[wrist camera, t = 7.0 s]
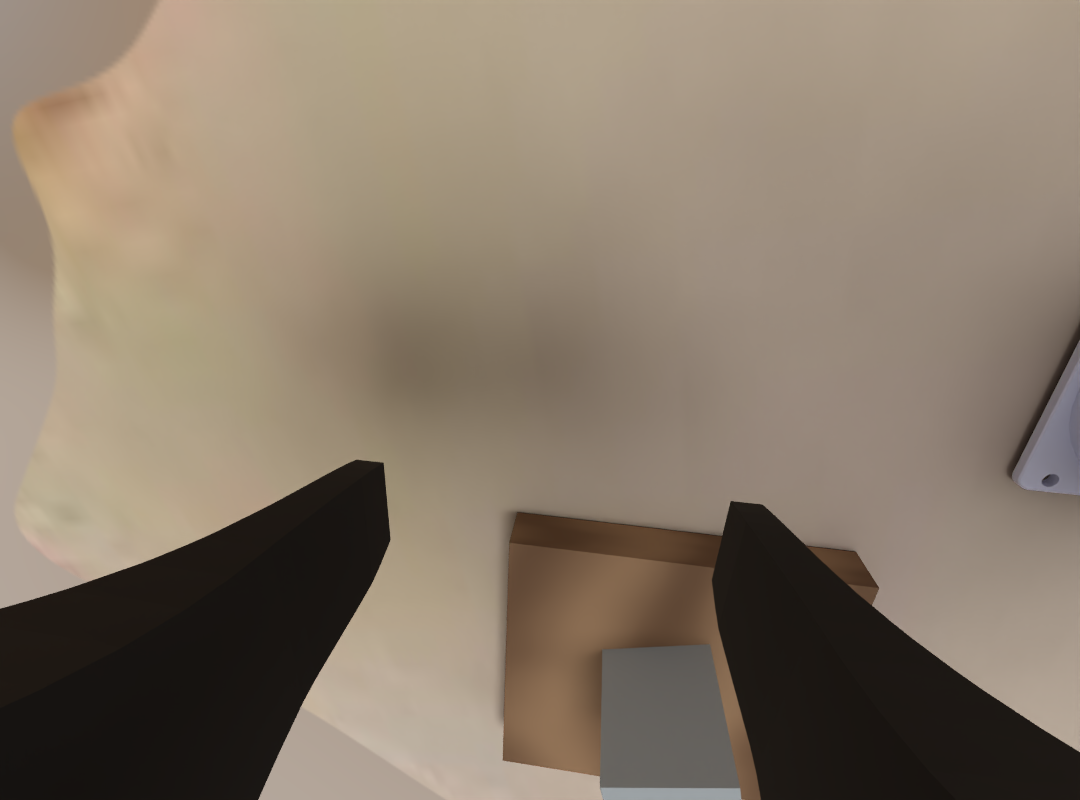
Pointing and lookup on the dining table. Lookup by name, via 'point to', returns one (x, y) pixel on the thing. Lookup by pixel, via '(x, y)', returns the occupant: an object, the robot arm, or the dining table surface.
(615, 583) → the board
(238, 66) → the dining table surface
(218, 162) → the dining table surface
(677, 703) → the block
